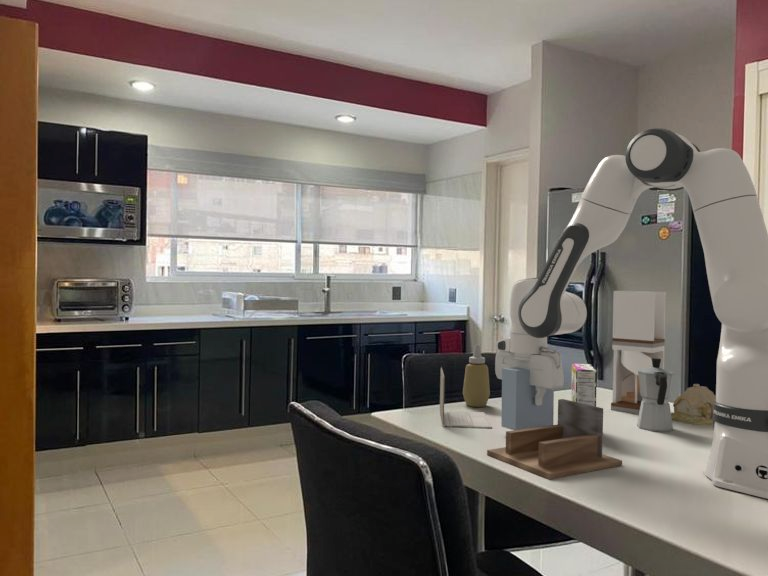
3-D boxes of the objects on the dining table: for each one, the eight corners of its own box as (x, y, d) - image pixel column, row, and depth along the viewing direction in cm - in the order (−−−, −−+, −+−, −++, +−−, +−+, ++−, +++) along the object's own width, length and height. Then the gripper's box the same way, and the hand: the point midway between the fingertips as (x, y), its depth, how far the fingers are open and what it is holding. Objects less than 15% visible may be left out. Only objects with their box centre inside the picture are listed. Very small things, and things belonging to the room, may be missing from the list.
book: (553, 425, 148) (553, 367, 148) (515, 430, 142) (516, 370, 142) (538, 421, 152) (539, 365, 152) (501, 426, 146) (502, 368, 147)
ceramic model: (692, 426, 161) (693, 388, 161) (660, 417, 172) (661, 381, 171) (733, 423, 166) (734, 386, 165) (699, 414, 176) (700, 380, 176)
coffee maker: (631, 421, 164) (633, 354, 164) (666, 423, 163) (668, 356, 163) (643, 434, 150) (645, 361, 150) (682, 437, 148) (684, 363, 148)
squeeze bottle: (462, 402, 186) (463, 343, 186) (489, 403, 185) (490, 344, 185) (462, 407, 178) (463, 346, 178) (490, 408, 177) (491, 346, 177)
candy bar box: (569, 427, 156) (571, 363, 156) (590, 428, 155) (591, 364, 155) (574, 437, 145) (575, 368, 145) (596, 439, 144) (597, 369, 144)
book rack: (621, 465, 123) (623, 410, 123) (549, 479, 113) (550, 420, 113) (556, 444, 139) (557, 395, 139) (487, 454, 129) (488, 402, 129)
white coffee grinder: (610, 409, 180) (613, 290, 179) (623, 404, 188) (626, 291, 187) (651, 415, 172) (654, 291, 172) (663, 410, 180) (665, 291, 180)
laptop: (492, 430, 153) (493, 378, 153) (441, 428, 153) (443, 376, 153) (484, 414, 171) (485, 368, 171) (439, 413, 171) (440, 367, 171)
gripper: (570, 348, 140) (569, 408, 140) (510, 341, 158) (509, 395, 158) (550, 349, 137) (549, 411, 137) (491, 342, 155) (490, 397, 154)
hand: (527, 402), depth 147 cm, fingers closed on book, 5 cm apart
